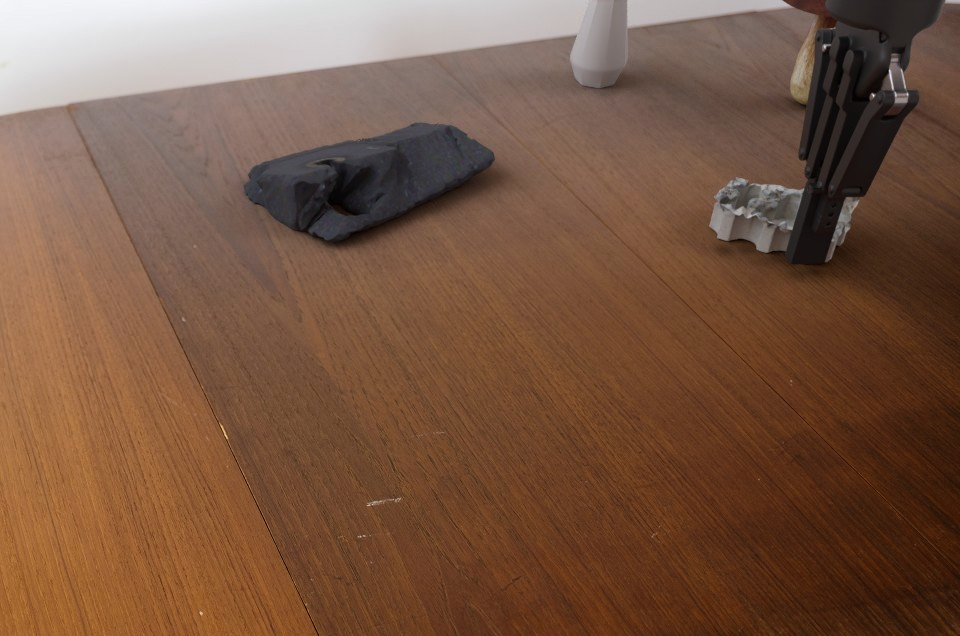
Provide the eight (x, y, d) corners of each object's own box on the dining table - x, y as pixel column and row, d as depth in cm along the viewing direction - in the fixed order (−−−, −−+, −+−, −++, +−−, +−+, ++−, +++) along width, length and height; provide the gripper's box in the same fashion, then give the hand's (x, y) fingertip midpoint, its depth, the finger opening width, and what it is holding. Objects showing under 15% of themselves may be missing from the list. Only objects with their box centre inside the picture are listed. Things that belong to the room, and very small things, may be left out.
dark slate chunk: (518, 187, 114) (525, 139, 111) (319, 255, 106) (320, 205, 102) (417, 126, 124) (420, 80, 121) (227, 184, 116) (226, 136, 112)
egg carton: (853, 238, 106) (868, 194, 103) (820, 274, 101) (835, 230, 99) (733, 200, 111) (744, 158, 108) (696, 233, 107) (707, 190, 104)
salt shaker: (580, 94, 129) (601, -35, 120) (558, 72, 133) (577, -54, 125) (632, 88, 130) (657, -41, 121) (609, 66, 134) (631, -59, 125)
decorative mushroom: (804, 135, 121) (850, -23, 111) (727, 93, 128) (764, -58, 118) (889, 112, 124) (941, -43, 114) (809, 73, 131) (851, -76, 122)
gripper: (808, -69, 90) (732, 221, 106) (881, -6, 80) (786, 303, 96) (911, -72, 90) (820, 218, 106) (997, -10, 80) (883, 301, 96)
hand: (804, 258), depth 101 cm, fingers closed
